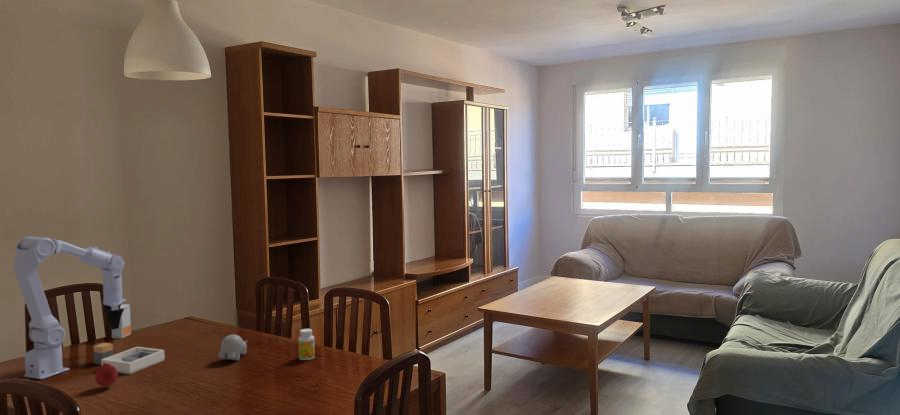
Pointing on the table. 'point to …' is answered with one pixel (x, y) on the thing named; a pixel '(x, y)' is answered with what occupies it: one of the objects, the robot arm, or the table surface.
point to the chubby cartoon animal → (232, 347)
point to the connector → (102, 352)
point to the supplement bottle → (306, 345)
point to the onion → (106, 375)
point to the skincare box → (123, 324)
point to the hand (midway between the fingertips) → (114, 326)
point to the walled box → (135, 359)
